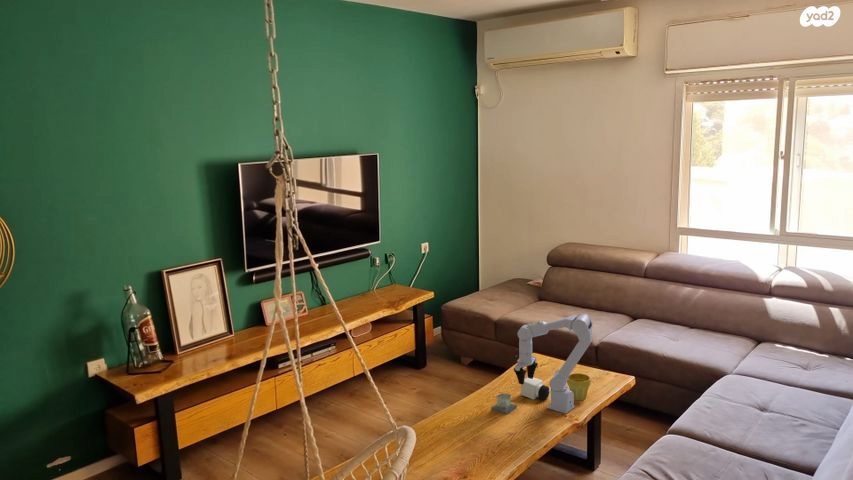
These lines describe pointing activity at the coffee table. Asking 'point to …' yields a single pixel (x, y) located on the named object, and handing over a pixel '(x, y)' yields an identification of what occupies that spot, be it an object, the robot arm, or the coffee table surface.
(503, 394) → the grey green cube
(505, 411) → the block
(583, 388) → the plant pot
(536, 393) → the medicine bottle
